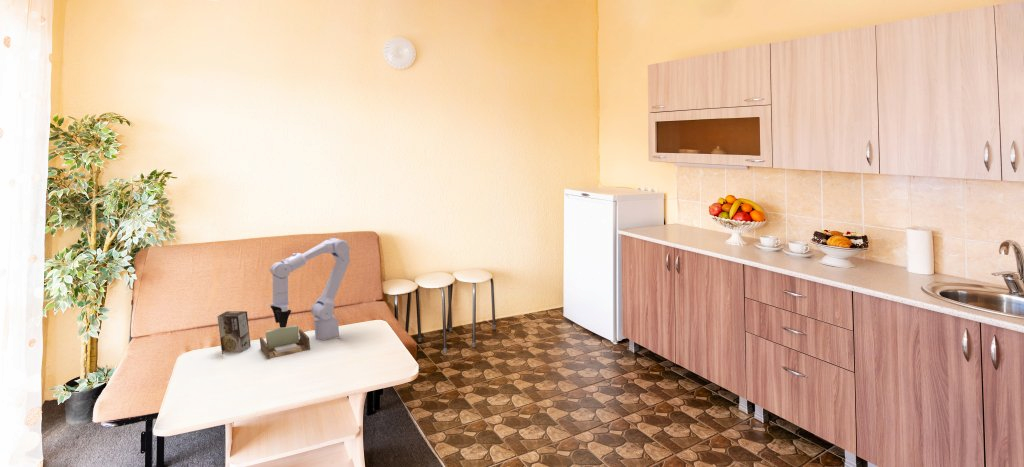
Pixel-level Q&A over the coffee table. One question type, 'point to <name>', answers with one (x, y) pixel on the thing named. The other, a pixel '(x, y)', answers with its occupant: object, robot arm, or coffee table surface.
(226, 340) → the coffee box
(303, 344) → the rack
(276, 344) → the pale green long block
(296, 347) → the offcut upper
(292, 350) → the offcut lower
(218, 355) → the coffee table surface
